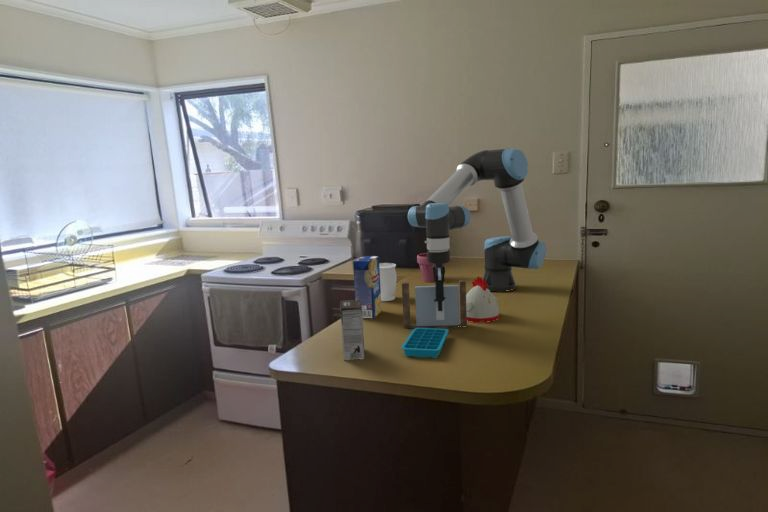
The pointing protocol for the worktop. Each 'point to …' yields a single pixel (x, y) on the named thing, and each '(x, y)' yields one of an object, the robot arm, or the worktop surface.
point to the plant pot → (426, 267)
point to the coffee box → (352, 329)
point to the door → (428, 306)
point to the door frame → (408, 325)
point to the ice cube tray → (425, 342)
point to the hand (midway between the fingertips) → (440, 319)
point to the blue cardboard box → (368, 285)
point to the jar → (387, 281)
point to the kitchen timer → (481, 303)
